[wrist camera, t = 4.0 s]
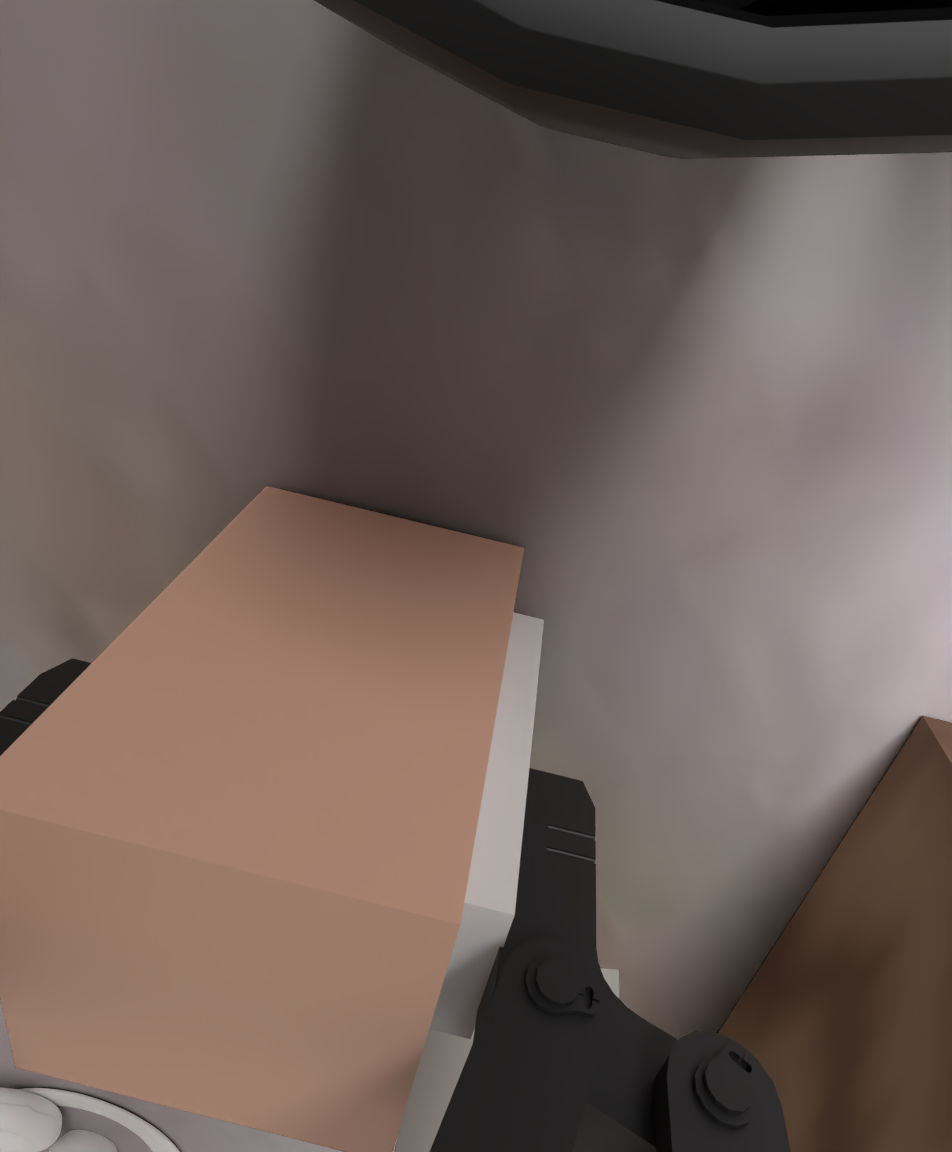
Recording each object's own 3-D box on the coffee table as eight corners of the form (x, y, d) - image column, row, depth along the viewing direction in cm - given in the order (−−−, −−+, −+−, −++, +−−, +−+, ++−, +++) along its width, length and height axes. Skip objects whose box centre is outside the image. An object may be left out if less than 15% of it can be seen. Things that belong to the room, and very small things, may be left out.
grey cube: (433, 952, 21) (392, 1162, 16) (618, 966, 20) (627, 1190, 16) (448, 1057, 23) (415, 1264, 19) (614, 1073, 22) (620, 1293, 18)
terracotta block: (265, 485, 14) (-42, 798, 7) (524, 547, 14) (460, 925, 7) (253, 689, 17) (15, 1067, 10) (473, 743, 17) (388, 1163, 10)
